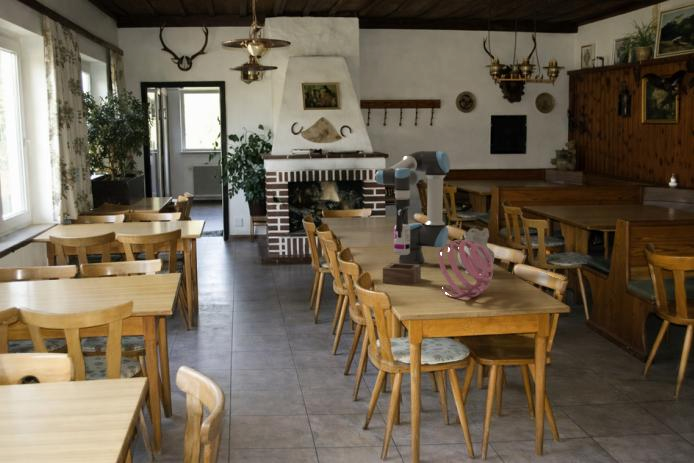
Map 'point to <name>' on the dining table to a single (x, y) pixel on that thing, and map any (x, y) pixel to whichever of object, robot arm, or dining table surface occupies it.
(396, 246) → the supplement can
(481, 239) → the grey rounded figure
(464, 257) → the spiral basket
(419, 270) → the dark wooden box
